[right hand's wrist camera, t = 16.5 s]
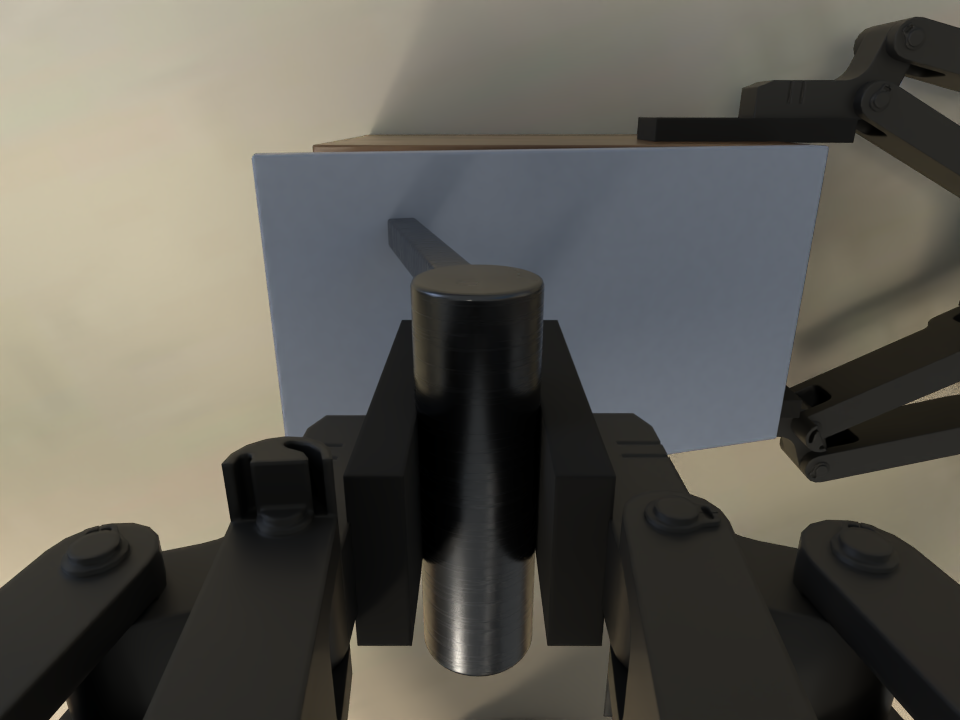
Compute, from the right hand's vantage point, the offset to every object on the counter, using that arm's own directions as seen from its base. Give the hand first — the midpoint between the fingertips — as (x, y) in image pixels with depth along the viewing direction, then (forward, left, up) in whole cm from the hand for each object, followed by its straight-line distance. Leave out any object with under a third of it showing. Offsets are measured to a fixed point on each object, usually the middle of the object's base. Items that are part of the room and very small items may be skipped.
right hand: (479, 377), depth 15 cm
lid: (+1, -2, -5) cm, 5 cm away
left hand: (+3, -5, -10) cm, 12 cm away
